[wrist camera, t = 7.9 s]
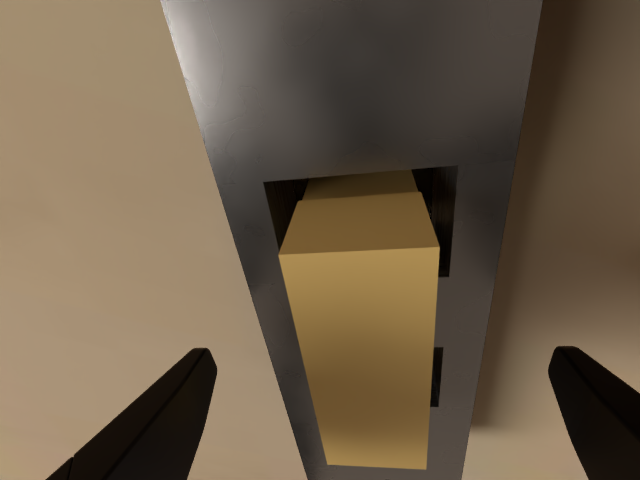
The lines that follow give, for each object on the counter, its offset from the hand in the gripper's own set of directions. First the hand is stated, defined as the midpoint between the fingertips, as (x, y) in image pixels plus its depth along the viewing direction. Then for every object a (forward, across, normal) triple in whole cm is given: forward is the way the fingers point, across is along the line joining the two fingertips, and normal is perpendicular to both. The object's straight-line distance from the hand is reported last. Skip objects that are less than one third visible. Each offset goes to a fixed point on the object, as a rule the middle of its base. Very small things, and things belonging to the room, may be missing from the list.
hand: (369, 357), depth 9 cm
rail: (+5, 0, 0) cm, 5 cm away
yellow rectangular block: (+4, 0, 0) cm, 4 cm away
